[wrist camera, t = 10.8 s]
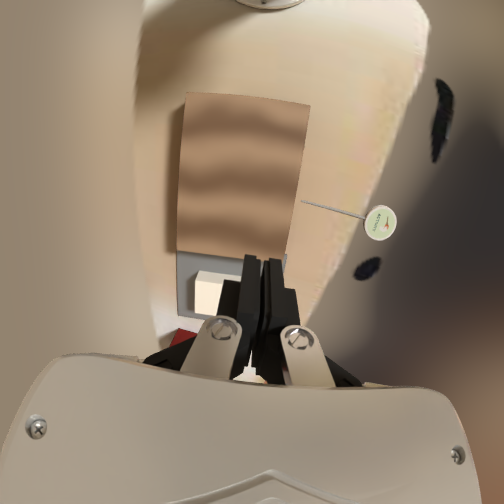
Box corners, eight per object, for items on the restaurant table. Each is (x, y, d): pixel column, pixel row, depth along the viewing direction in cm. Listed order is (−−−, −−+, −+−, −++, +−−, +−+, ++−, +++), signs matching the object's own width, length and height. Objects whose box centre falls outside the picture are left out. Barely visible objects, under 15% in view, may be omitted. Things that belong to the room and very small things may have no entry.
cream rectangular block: (194, 312, 41) (198, 302, 43) (252, 320, 41) (253, 309, 43) (195, 280, 38) (199, 270, 41) (258, 288, 38) (258, 278, 41)
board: (194, 95, 30) (186, 92, 26) (305, 107, 30) (310, 105, 27) (184, 237, 39) (176, 250, 35) (280, 250, 39) (282, 263, 35)
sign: (306, 182, 34) (401, 212, 35) (305, 181, 35) (398, 210, 36) (296, 218, 37) (388, 244, 37) (295, 216, 37) (386, 241, 38)
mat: (177, 240, 39) (177, 241, 39) (287, 254, 39) (287, 255, 39) (178, 314, 45) (178, 315, 45) (271, 327, 45) (271, 328, 45)
